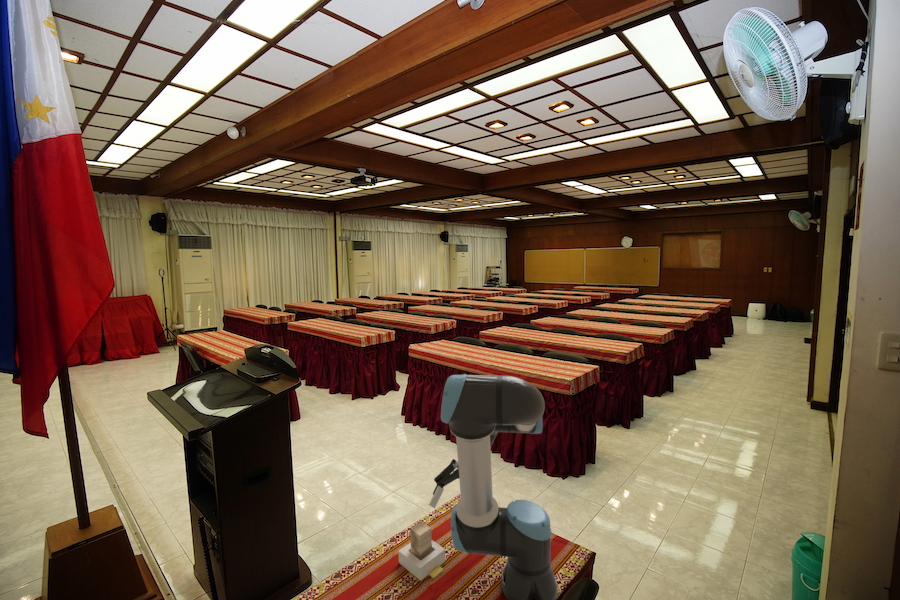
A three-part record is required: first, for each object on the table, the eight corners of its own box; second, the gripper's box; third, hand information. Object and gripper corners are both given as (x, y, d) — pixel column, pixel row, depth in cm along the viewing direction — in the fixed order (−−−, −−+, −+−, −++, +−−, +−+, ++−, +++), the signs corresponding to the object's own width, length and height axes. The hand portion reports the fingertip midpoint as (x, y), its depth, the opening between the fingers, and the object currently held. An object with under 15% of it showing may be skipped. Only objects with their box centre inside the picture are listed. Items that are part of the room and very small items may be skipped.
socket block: (450, 565, 120) (450, 552, 119) (425, 585, 113) (425, 572, 112) (423, 545, 128) (423, 533, 128) (399, 562, 121) (398, 550, 121)
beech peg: (432, 561, 121) (431, 528, 120) (421, 570, 118) (419, 535, 117) (422, 554, 125) (421, 521, 123) (411, 562, 122) (410, 528, 120)
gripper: (510, 470, 130) (481, 537, 121) (455, 446, 148) (426, 503, 139) (500, 461, 126) (469, 529, 117) (444, 437, 143) (414, 495, 134)
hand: (446, 515), depth 128 cm, fingers open, 13 cm apart
